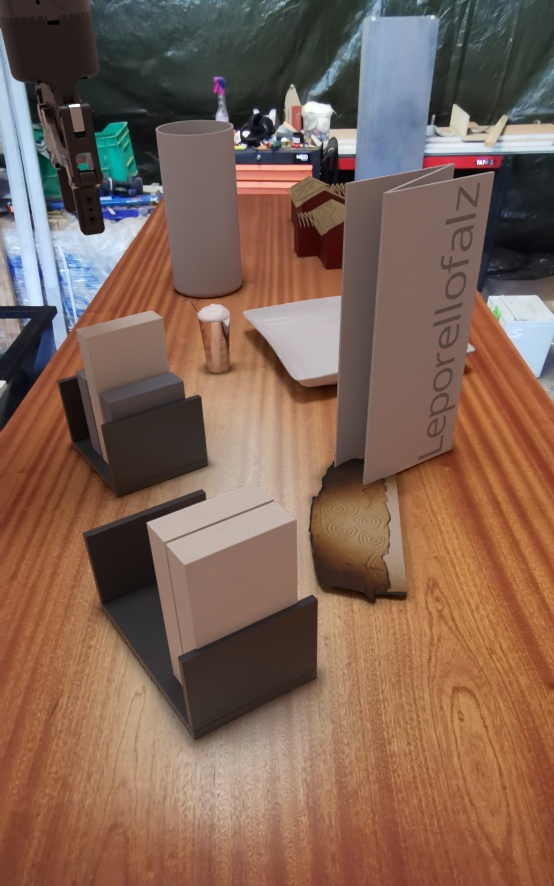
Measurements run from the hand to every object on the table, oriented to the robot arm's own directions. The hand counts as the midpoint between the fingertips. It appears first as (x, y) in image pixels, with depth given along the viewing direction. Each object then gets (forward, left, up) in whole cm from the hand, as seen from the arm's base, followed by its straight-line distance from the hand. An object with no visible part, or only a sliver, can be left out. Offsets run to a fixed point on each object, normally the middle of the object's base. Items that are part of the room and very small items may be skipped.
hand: (84, 221), depth 71 cm
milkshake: (+22, +18, -28) cm, 39 cm away
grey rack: (+2, +2, -28) cm, 28 cm away
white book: (+2, 0, -27) cm, 27 cm away
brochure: (+27, -17, -27) cm, 42 cm away
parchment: (+15, -25, -28) cm, 40 cm away
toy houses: (+71, +51, -28) cm, 92 cm away
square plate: (+42, +11, -28) cm, 51 cm away
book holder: (-7, -31, -28) cm, 42 cm away
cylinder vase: (+38, +49, -28) cm, 68 cm away
